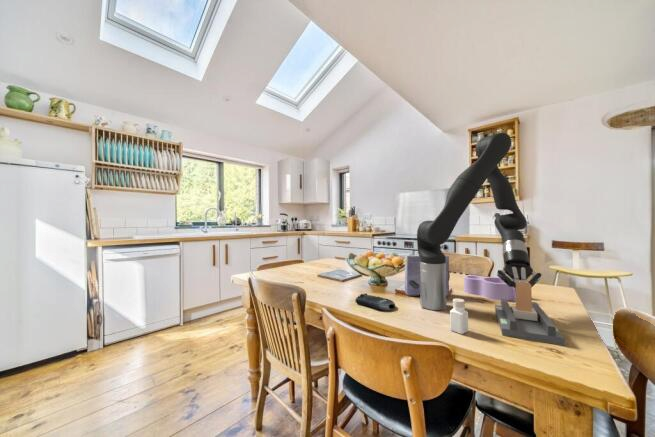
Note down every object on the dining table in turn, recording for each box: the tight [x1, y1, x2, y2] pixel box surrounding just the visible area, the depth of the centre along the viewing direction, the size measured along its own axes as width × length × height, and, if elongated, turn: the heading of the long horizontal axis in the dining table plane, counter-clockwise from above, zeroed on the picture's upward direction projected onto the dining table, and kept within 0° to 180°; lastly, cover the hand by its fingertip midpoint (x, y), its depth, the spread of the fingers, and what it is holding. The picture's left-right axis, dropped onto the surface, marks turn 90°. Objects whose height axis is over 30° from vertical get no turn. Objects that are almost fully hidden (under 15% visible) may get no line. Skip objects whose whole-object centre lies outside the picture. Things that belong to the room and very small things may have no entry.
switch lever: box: [510, 282, 537, 321], centre depth 83 cm, size 5×6×11 cm
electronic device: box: [354, 292, 396, 312], centre depth 103 cm, size 9×6×15 cm
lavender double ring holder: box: [463, 274, 520, 303], centre depth 113 cm, size 20×12×7 cm, turn 46°
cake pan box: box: [404, 254, 451, 297], centre depth 115 cm, size 19×5×18 cm, turn 85°
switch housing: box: [494, 298, 566, 347], centre depth 82 cm, size 22×14×5 cm, turn 152°
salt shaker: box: [449, 298, 469, 335], centre depth 79 cm, size 4×4×10 cm
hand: (522, 297), depth 85 cm, fingers closed
